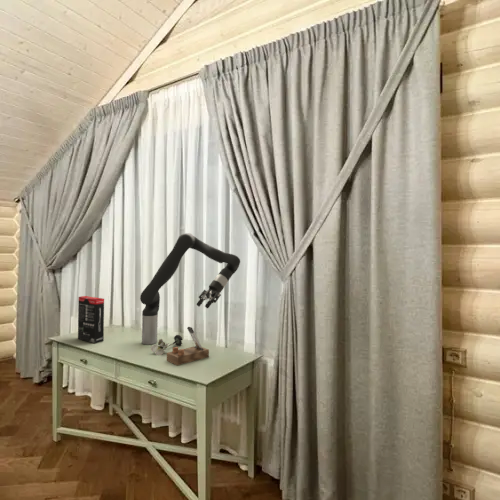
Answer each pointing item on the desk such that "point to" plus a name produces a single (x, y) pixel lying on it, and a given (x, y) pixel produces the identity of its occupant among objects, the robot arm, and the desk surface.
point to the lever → (194, 337)
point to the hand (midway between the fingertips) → (201, 306)
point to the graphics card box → (91, 319)
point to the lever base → (186, 355)
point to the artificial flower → (160, 349)
